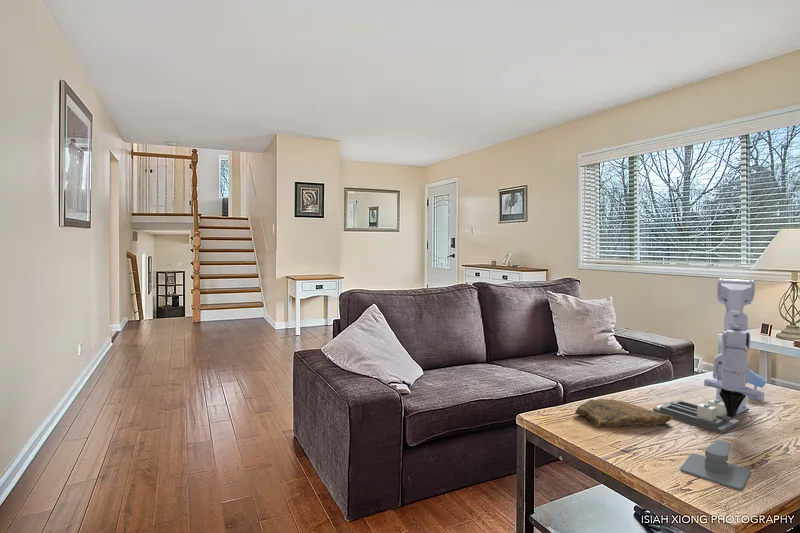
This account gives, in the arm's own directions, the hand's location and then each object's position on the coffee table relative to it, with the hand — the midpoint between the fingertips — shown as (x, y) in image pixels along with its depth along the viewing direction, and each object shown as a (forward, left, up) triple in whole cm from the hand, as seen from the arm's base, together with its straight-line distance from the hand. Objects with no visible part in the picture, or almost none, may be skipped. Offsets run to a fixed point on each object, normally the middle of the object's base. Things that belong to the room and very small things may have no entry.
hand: (731, 416), depth 134 cm
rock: (+18, -22, -6) cm, 30 cm away
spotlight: (-42, -9, -5) cm, 43 cm away
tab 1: (0, -7, -4) cm, 7 cm away
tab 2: (-7, -7, -4) cm, 10 cm away
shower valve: (+28, +8, -6) cm, 29 cm away
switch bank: (-4, -11, -5) cm, 13 cm away
